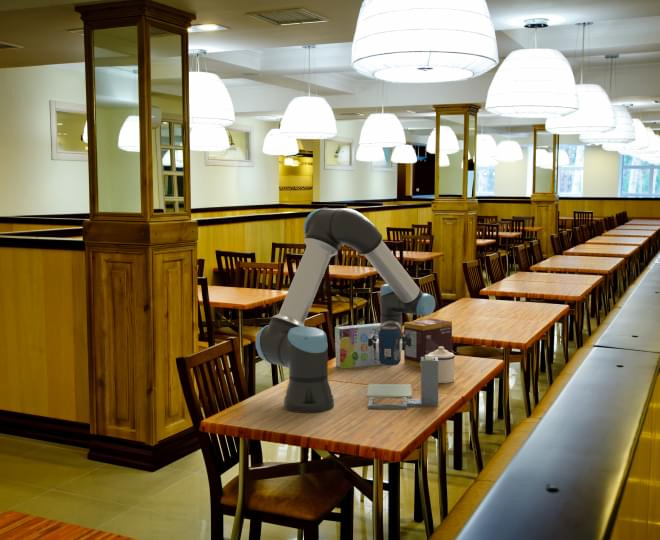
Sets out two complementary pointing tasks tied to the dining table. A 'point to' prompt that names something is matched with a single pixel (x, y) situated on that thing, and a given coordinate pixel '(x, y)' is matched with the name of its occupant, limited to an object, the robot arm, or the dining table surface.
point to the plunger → (429, 357)
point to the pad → (389, 390)
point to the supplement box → (426, 338)
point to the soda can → (389, 346)
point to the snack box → (356, 346)
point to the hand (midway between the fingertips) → (389, 347)
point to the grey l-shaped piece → (427, 388)
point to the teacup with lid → (444, 365)
